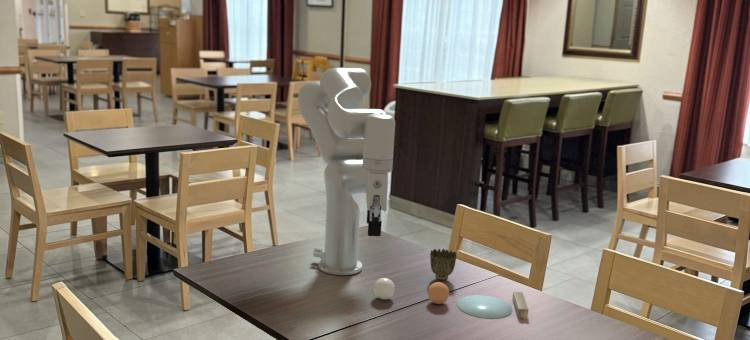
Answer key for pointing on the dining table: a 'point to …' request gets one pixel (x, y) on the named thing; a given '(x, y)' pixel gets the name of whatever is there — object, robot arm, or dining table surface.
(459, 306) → the light blue plate
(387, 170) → the robot arm
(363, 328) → the dining table surface
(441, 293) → the terracotta ball
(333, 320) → the dining table surface
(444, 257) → the cup
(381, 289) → the ivory ball
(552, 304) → the dining table surface
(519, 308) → the tan bar
